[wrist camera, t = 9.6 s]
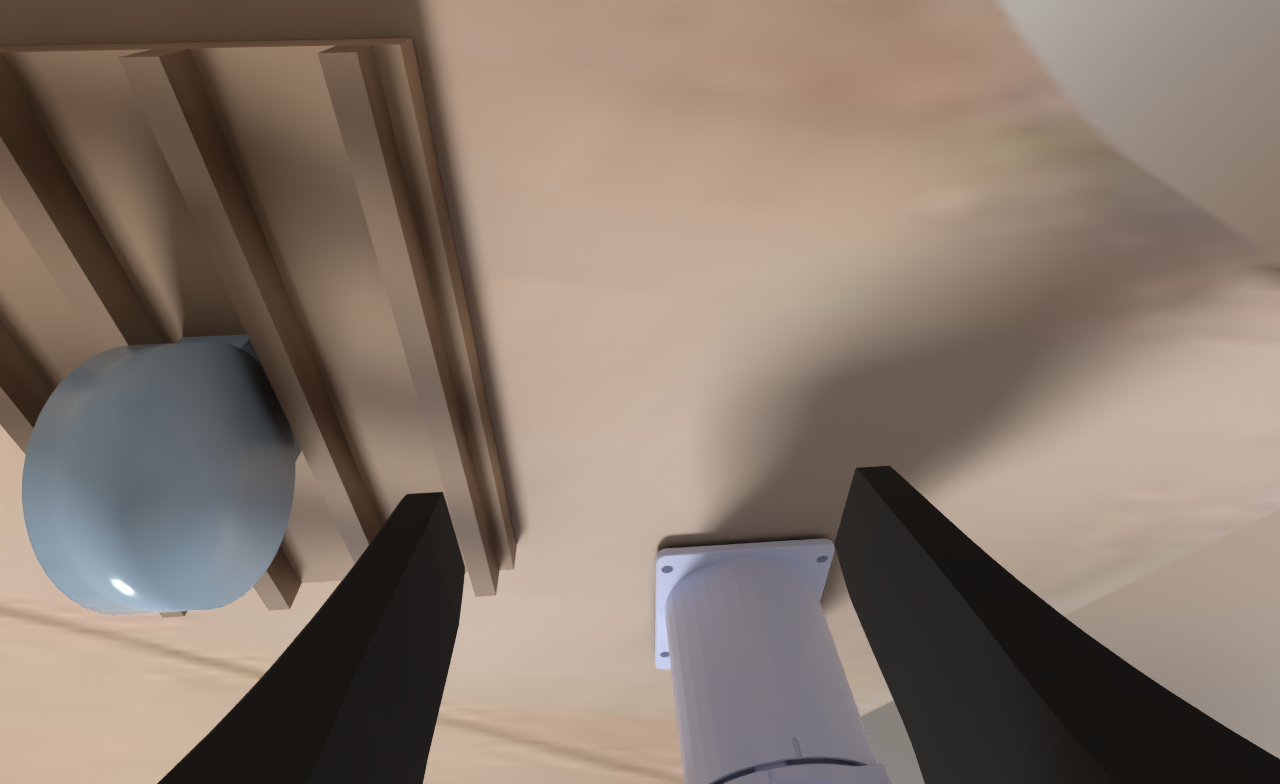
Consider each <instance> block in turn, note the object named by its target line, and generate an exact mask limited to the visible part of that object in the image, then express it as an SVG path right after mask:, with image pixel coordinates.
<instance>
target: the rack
mask: <svg viewBox="0 0 1280 784" xmlns="http://www.w3.org/2000/svg"><path fill="white" fill-rule="evenodd" d="M247 334H248V337H249V339H250V341H251V343H252V345H253V347H254V349H255V352H256V354H257V356H258V358H259V360H260V362H261V364H262V367H263V369H264V371H265V373H266V375H267V377H268V379H269V382H270V384H271V386H272V388H273V390H274V392H275V394H276V397H277V399H278V401H279V403H280V405H281V407H282V409H283V411H284V414H285V416H286V418H287V420H288V422H289V424H290V426H291V429H292V431H293V433H294V435H295V437H296V439H297V441H298V444H299V446H300V448H301V450H302V451H301V453H300V455H299V456H298V458H297V460H296V462H295V488H294V496H293V503H292V508H291V513H290V517H289V521H288V524H287V528H286V531H285V534H284V536H283V539H282V542H281V544H280V546H279V549H278V551H277V553H276V555H275V557H274V559H273V560H272V562H271V564H270V566H269V567H268V569H267V570H266V571H265V573H264V574H263V576H262V577H261V578H260V579H259V581H258V582H257V583H256V584H255V585H254V586H253V587H254V588H255V590H256V591H257V593H258V594H259V596H260V597H261V599H262V601H263V602H264V604H265V605H266V607H267V608H268V610H282V609H290V608H291V605H292V603H293V601H294V599H295V596H296V594H297V592H298V590H299V588H300V585H301V583H309V582H324V581H340V580H343V579H344V577H345V576H346V575H347V574H348V572H349V571H350V570H351V568H352V567H353V566H354V564H355V563H356V562H357V560H358V559H359V558H360V556H361V555H362V554H363V552H364V551H365V550H366V548H367V547H368V546H369V544H370V543H371V541H372V540H373V539H374V537H375V536H376V534H377V533H378V532H379V530H380V529H381V528H382V526H383V525H384V523H385V522H386V520H387V519H388V518H389V516H390V515H391V513H392V512H393V511H394V509H395V508H396V506H397V505H398V504H399V502H400V501H401V499H402V498H403V497H404V496H405V495H406V494H414V493H431V492H443V494H444V497H445V500H446V504H447V507H448V511H449V514H450V517H451V521H452V524H453V528H454V531H455V534H456V538H457V541H458V545H459V548H460V551H461V555H462V558H463V562H464V565H465V572H469V576H470V579H471V583H472V586H473V590H474V593H475V597H476V596H491V595H496V590H497V583H498V576H499V570H509V569H514V564H515V555H516V547H517V546H516V541H515V536H514V531H513V526H512V521H511V516H510V512H509V507H508V502H507V497H506V492H505V487H504V482H503V477H502V473H501V468H500V463H499V458H498V453H497V448H496V443H495V438H494V434H493V429H492V424H491V419H490V414H489V409H488V404H487V399H486V395H485V390H484V385H483V380H482V375H481V370H480V365H479V361H478V356H477V351H476V346H475V341H474V336H473V331H472V326H471V322H470V317H469V312H468V307H467V302H466V297H465V292H464V287H463V283H462V278H461V273H460V268H459V263H458V258H457V253H456V248H455V244H454V239H453V234H452V229H451V224H450V219H449V214H448V209H447V205H446V200H445V195H444V190H443V185H442V180H441V175H440V170H439V166H438V161H437V156H436V151H435V146H434V141H433V136H432V132H431V127H430V122H429V117H428V112H427V107H426V102H425V97H424V93H423V88H422V83H421V78H420V73H419V68H418V63H417V58H416V54H415V49H414V44H413V39H412V38H373V39H323V40H274V41H224V42H174V43H124V44H74V45H24V46H0V424H1V426H2V427H3V428H4V429H5V430H6V431H7V433H8V434H9V435H10V436H11V437H12V439H13V440H14V441H15V442H16V443H17V445H18V446H19V447H20V448H21V449H22V451H23V452H24V453H25V454H26V451H27V448H28V444H29V441H30V437H31V434H32V431H33V428H34V426H35V424H36V421H37V419H38V417H39V414H40V412H41V411H42V409H43V407H44V405H45V404H46V402H47V400H48V399H49V397H50V395H51V394H52V393H53V392H54V390H55V389H56V388H57V386H58V385H59V384H60V383H61V381H62V380H63V379H64V378H65V377H66V376H67V375H68V374H69V373H71V372H72V371H73V370H74V369H75V368H76V367H77V366H79V365H80V364H82V363H83V362H84V361H86V360H87V359H89V358H91V357H93V356H95V355H97V354H99V353H101V352H103V351H106V350H109V349H112V348H115V347H120V346H128V345H144V344H166V343H177V342H178V341H179V340H180V339H181V338H182V337H201V336H224V335H247ZM186 612H187V611H178V612H163V613H160V615H161V616H162V617H178V616H185V614H186Z"/></svg>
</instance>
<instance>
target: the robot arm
mask: <svg viewBox="0 0 1280 784" xmlns="http://www.w3.org/2000/svg"><path fill="white" fill-rule="evenodd" d="M835 547H836V551H837V554H838V558H839V562H840V565H841V569H842V572H843V576H844V579H845V582H846V586H847V589H848V592H849V596H850V598H851V601H852V603H853V606H854V608H855V611H856V613H857V615H858V618H859V620H860V623H861V625H862V627H863V630H864V632H865V634H866V637H867V639H868V641H869V644H870V646H871V648H872V651H873V653H874V655H875V658H876V660H877V662H878V665H879V667H880V669H881V672H882V674H883V676H884V679H885V681H886V683H887V685H888V688H889V690H890V692H891V695H892V697H893V699H894V702H895V704H896V706H897V709H898V711H899V713H900V716H901V718H902V720H903V723H904V725H905V728H906V731H907V733H908V736H909V738H910V741H911V743H912V746H913V749H914V752H915V755H916V758H917V760H918V764H919V767H920V770H921V773H922V776H923V779H924V782H925V784H1280V759H1279V758H1277V757H1275V756H1273V755H1272V754H1270V753H1268V752H1267V751H1265V750H1263V749H1262V748H1260V747H1258V746H1257V745H1255V744H1253V743H1252V742H1250V741H1248V740H1247V739H1245V738H1243V737H1242V736H1240V735H1238V734H1236V733H1235V732H1233V731H1232V730H1230V729H1228V728H1227V727H1225V726H1224V725H1222V724H1220V723H1219V722H1217V721H1216V720H1214V719H1213V718H1211V717H1209V716H1208V715H1206V714H1205V713H1203V712H1201V711H1200V710H1198V709H1197V708H1195V707H1193V706H1192V705H1190V704H1189V703H1187V702H1186V701H1184V700H1183V699H1181V698H1180V697H1178V696H1176V695H1175V694H1173V693H1172V692H1170V691H1169V690H1167V689H1165V688H1164V687H1163V686H1161V685H1160V684H1158V683H1156V682H1155V681H1154V680H1152V679H1151V678H1149V677H1147V676H1146V675H1144V674H1143V673H1142V672H1140V671H1138V670H1137V669H1136V668H1134V667H1133V666H1131V665H1130V664H1128V663H1127V662H1126V661H1124V660H1123V659H1122V658H1120V657H1119V656H1117V655H1116V654H1115V653H1113V652H1112V651H1110V650H1109V649H1108V648H1106V647H1105V646H1103V645H1101V644H1100V643H1099V642H1098V641H1096V640H1095V639H1093V638H1092V637H1091V636H1089V635H1088V634H1086V633H1085V632H1084V631H1082V630H1081V629H1080V628H1078V627H1077V626H1076V625H1074V624H1073V623H1072V622H1070V621H1069V620H1067V619H1066V618H1065V617H1064V616H1063V615H1061V614H1060V613H1059V612H1057V611H1056V610H1055V609H1054V608H1052V607H1051V606H1050V605H1049V604H1047V603H1046V602H1045V601H1044V600H1042V599H1041V598H1040V597H1039V596H1037V595H1036V594H1035V593H1034V592H1032V591H1031V590H1030V589H1028V588H1027V587H1026V586H1025V585H1023V584H1022V583H1021V582H1020V581H1019V580H1017V579H1016V578H1015V577H1014V576H1013V575H1011V574H1010V573H1009V572H1008V571H1007V570H1005V569H1004V568H1003V567H1002V566H1001V565H1000V564H998V563H997V562H996V561H995V560H994V559H993V558H991V557H990V556H989V555H988V554H987V553H986V552H984V551H983V550H982V549H981V548H980V547H979V546H978V545H976V544H975V543H974V542H973V541H972V540H971V539H970V538H968V537H967V536H966V535H965V534H964V533H963V532H962V531H961V530H960V529H958V528H957V527H956V526H955V525H954V524H953V523H952V522H951V521H950V520H949V519H947V518H946V517H945V516H944V515H943V514H942V513H941V512H940V511H939V510H938V509H936V508H935V507H934V506H933V505H932V504H931V503H930V502H929V501H928V500H927V499H926V498H924V497H923V496H922V495H921V494H920V493H919V492H918V491H917V490H916V489H915V488H914V487H913V486H911V485H910V484H909V483H908V482H907V481H906V480H905V479H904V478H903V477H902V476H901V475H899V474H898V473H897V472H896V471H895V470H894V469H893V468H892V467H890V466H879V467H862V468H856V469H855V473H854V476H853V480H852V484H851V487H850V491H849V494H848V498H847V501H846V505H845V508H844V512H843V515H842V519H841V523H840V526H839V530H838V533H837V537H836V540H835ZM834 551H835V548H834V545H833V543H832V541H831V540H829V539H823V538H822V539H807V540H791V541H776V542H760V543H744V544H729V545H713V546H697V547H682V548H666V549H662V550H660V551H659V552H658V553H657V554H656V556H655V666H656V667H657V668H658V669H671V672H672V681H673V689H674V698H675V706H676V715H677V724H678V732H679V741H680V749H681V758H682V766H683V775H684V784H891V781H890V779H889V776H888V773H887V771H886V768H885V765H883V764H877V763H876V760H875V757H874V754H873V751H872V748H871V745H870V743H869V740H868V737H867V734H866V731H865V728H864V726H863V723H862V720H861V717H860V714H859V712H858V709H857V706H856V703H855V700H854V697H853V695H852V692H851V689H850V686H849V683H848V681H847V678H846V675H845V672H844V669H843V666H842V664H841V661H840V658H839V655H838V652H837V650H836V647H835V644H834V641H833V638H832V635H831V633H830V630H829V627H828V624H827V621H826V619H825V616H824V613H823V610H822V607H821V604H820V600H821V597H822V593H823V590H824V586H825V583H826V579H827V576H828V572H829V569H830V565H831V562H832V558H833V555H834ZM464 574H465V565H464V562H463V558H462V555H461V551H460V548H459V545H458V541H457V538H456V534H455V531H454V528H453V524H452V521H451V517H450V514H449V511H448V507H447V504H446V500H445V497H444V494H443V492H431V493H414V494H406V495H405V496H404V497H403V498H402V499H401V501H400V502H399V504H398V505H397V506H396V508H395V509H394V511H393V512H392V513H391V515H390V516H389V518H388V519H387V520H386V522H385V523H384V525H383V526H382V528H381V529H380V530H379V532H378V533H377V534H376V536H375V537H374V539H373V540H372V541H371V543H370V544H369V546H368V547H367V548H366V550H365V551H364V552H363V554H362V555H361V556H360V558H359V559H358V560H357V562H356V563H355V564H354V566H353V567H352V568H351V570H350V571H349V572H348V574H347V575H346V576H345V577H344V579H343V580H342V581H341V583H340V584H339V585H338V586H337V588H336V589H335V590H334V592H333V593H332V594H331V596H330V597H329V598H328V599H327V601H326V602H325V603H324V605H323V606H322V607H321V608H320V610H319V611H318V612H317V613H316V615H315V616H314V617H313V618H312V619H311V621H310V622H309V623H308V624H307V625H306V626H305V628H304V629H303V630H302V631H301V632H300V634H299V635H298V636H297V637H296V638H295V639H294V641H293V642H292V643H291V644H290V645H289V647H288V648H287V649H286V650H285V651H284V652H283V654H282V655H281V656H280V657H279V658H278V660H277V661H276V662H275V663H274V664H273V665H272V666H271V668H270V669H269V670H268V671H267V672H266V673H265V674H264V675H263V676H262V678H261V679H260V680H259V681H258V682H257V683H256V684H255V685H254V686H253V687H252V689H251V690H250V691H249V692H248V693H247V694H246V695H245V696H244V697H243V698H242V699H241V700H240V701H239V703H238V704H237V705H236V706H235V707H234V708H233V709H232V710H231V711H230V712H229V713H228V714H227V715H226V716H225V717H224V718H223V719H222V720H221V721H220V722H219V723H218V724H217V725H216V727H215V728H214V729H213V730H212V731H211V732H210V733H209V734H208V735H207V736H206V737H205V738H204V739H203V740H202V741H200V742H199V743H198V744H197V745H196V746H195V747H194V748H193V749H192V750H191V751H190V752H189V753H188V754H187V755H186V756H185V757H184V758H183V759H182V760H181V761H180V762H179V763H178V764H177V765H176V766H175V767H174V768H173V769H172V770H171V771H170V772H169V773H168V774H167V775H166V776H165V777H164V778H163V779H162V780H161V781H160V782H158V783H157V784H423V780H424V775H425V769H426V764H427V759H428V755H429V751H430V746H431V742H432V738H433V734H434V729H435V725H436V721H437V717H438V712H439V708H440V704H441V700H442V695H443V691H444V687H445V683H446V678H447V674H448V670H449V665H450V661H451V657H452V652H453V648H454V644H455V639H456V635H457V630H458V626H459V618H460V610H461V602H462V593H463V584H464Z"/></svg>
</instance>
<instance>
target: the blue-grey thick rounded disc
mask: <svg viewBox="0 0 1280 784" xmlns="http://www.w3.org/2000/svg"><path fill="white" fill-rule="evenodd" d="M301 451H302V450H301V448H300V446H299V444H298V441H297V439H296V437H295V435H294V433H293V431H292V429H291V426H290V424H289V422H288V420H287V418H286V416H285V414H284V411H283V409H282V407H281V405H280V403H279V401H278V399H277V397H276V394H275V392H274V390H273V388H272V386H271V384H270V382H269V379H268V377H267V375H266V373H265V371H264V369H263V367H262V364H261V362H260V360H259V358H258V356H257V354H256V352H255V349H254V347H253V345H252V343H251V341H250V339H249V337H248V334H247V335H224V336H201V337H182V338H181V339H180V340H179V341H178V342H177V343H166V344H144V345H128V346H120V347H115V348H112V349H109V350H106V351H103V352H101V353H99V354H97V355H95V356H93V357H91V358H89V359H87V360H86V361H84V362H83V363H82V364H80V365H79V366H77V367H76V368H75V369H74V370H73V371H72V372H71V373H69V374H68V375H67V376H66V377H65V378H64V379H63V380H62V381H61V383H60V384H59V385H58V386H57V388H56V389H55V390H54V392H53V393H52V394H51V395H50V397H49V399H48V400H47V402H46V404H45V405H44V407H43V409H42V411H41V412H40V414H39V417H38V419H37V421H36V424H35V426H34V428H33V431H32V434H31V437H30V441H29V444H28V448H27V451H26V456H25V463H24V469H23V480H22V501H23V511H24V519H25V524H26V528H27V532H28V536H29V540H30V542H31V545H32V547H33V550H34V552H35V555H36V557H37V559H38V561H39V563H40V564H41V566H42V568H43V570H44V571H45V573H46V575H47V576H48V577H49V578H50V579H51V581H52V582H53V583H54V584H55V586H56V587H57V588H58V589H59V590H60V591H62V592H63V593H64V594H65V595H66V596H67V597H68V598H70V599H71V600H73V601H74V602H76V603H78V604H79V605H81V606H83V607H84V608H87V609H90V610H93V611H95V612H98V613H104V614H110V615H133V614H148V613H163V612H178V611H193V610H209V609H214V608H219V607H222V606H225V605H227V604H230V603H232V602H234V601H235V600H237V599H238V598H240V597H242V596H243V595H244V594H245V593H246V592H248V591H249V590H250V589H251V588H252V587H253V586H254V585H255V584H256V583H257V582H258V581H259V579H260V578H261V577H262V576H263V574H264V573H265V571H266V570H267V569H268V567H269V566H270V564H271V562H272V560H273V559H274V557H275V555H276V553H277V551H278V549H279V546H280V544H281V542H282V539H283V536H284V534H285V531H286V528H287V524H288V521H289V517H290V513H291V508H292V503H293V496H294V488H295V462H296V460H297V458H298V456H299V455H300V453H301Z"/></svg>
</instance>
